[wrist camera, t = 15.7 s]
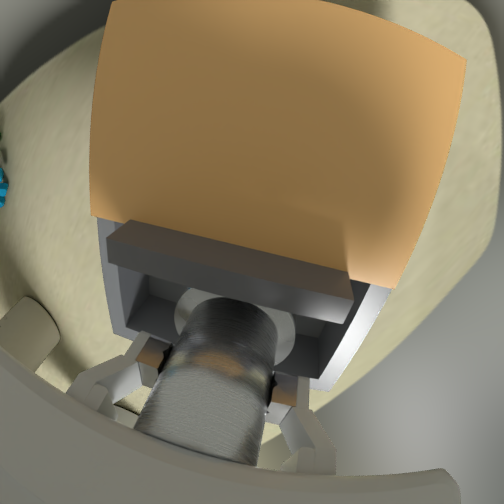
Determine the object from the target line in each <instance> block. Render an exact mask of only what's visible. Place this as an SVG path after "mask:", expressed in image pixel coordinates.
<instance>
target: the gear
mask: <svg viewBox="0 0 504 504" xmlns="http://www.w3.org/2000/svg"><path fill="white" fill-rule="evenodd" d="M0 136H1V133H0ZM2 178H3V170H2V168H0V182H1V181H2ZM7 189H8V184H7V183H0V208H1V207H2V206H4V203H5V198H4V197H5V195H6V192H7Z"/></svg>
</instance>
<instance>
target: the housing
mask: <svg viewBox="0 0 504 504" xmlns="http://www.w3.org/2000/svg"><path fill="white" fill-rule="evenodd" d="M97 224H98V237H99V247H100V256H101V264H102V272H103V279H104V285H105V292H106V298H107V303H108V309H109V314H110V319H111V324H112V328H113V333H114V334H117V335H119V336H122V337H124V338H127V339H129V340H132V341H134V340H135V338H136V337H137V335H138V334H139V332H141V331H145V332H147V333H150V334H152V335H155V336H157V337H160V338H163V339H165V340H168V341H171V342H173V343H174V345H175V343H176V341H177V339H178V337H179V334H178V332H177V329H176V326H175V322H174V313H175V308H176V305H177V303H178V301H179V299H180V298H181V296H182V295H183V293H184V291H185V290H186V288H187V286H184V285H180V284H177V283H173V282H170V281H166V280H163V279H159V278H156V277H153V276H149V275H146V274H143V273H140V272H136V271H133V270H130V269H127V268H124V267H120V266H117V265H114V264H111V263H108V256H107V245H106V237H108V236H109V235H110V234H112V233H113V232H114V231H115V230H117V229H118V228H119V227H121V226H122V225H123V223H119V222H115V221H111V220H107V219H103V218H99V217H97ZM350 282H351V287H352V292H353V296H354V303H353V305H352V307H351V309H350V311H349V313H348V315H347V317H346V319H345V321H344V323H343V324H340V323H335V322H330V321H326V320H321V319H316V318H312V317H307V316H302V315H298V314H296V333H295V342H294V346H293V348H292V350H291V352H290V354H289V355H288V356H287V357H286V358H285V359H284V360H283V361H282V362H280V363H279V364H277V365H275V366H274V370H273V373H274V372H275V371H278V372H283V373H288V374H293V375H297V376H302V377H308V378H309V379H310V388H309V389H314V390H320V391H327V392H329V391H330V390H331V388H332V387H333V385H334V384H335V383H336V381H337V380H338V378H339V377H340V375H341V374H342V373H343V371H344V370H345V368H346V367H347V365H348V364H349V362H350V361H351V359H352V357H353V356H354V354H355V353H356V351H357V350H358V348H359V346H360V345H361V343H362V342H363V340H364V338H365V337H366V335H367V333H368V332H369V330H370V328H371V327H372V325H373V323H374V321H375V320H376V318H377V316H378V314H379V313H380V311H381V309H382V307H383V305H384V303H385V302H386V300H387V298H388V296H389V294H390V292H391V290H392V289H390V288H386V287H382V286H378V285H374V284H369V283H365V282H361V281H357V280H353V279H350Z"/></svg>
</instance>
